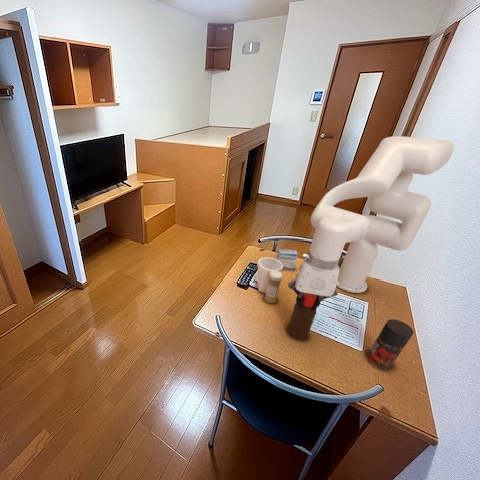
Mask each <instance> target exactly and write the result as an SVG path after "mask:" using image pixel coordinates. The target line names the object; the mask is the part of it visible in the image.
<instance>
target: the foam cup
mask: <svg viewBox="0 0 480 480" xmlns="http://www.w3.org/2000/svg"><path fill="white" fill-rule="evenodd" d="M256 266H257V282H256V283H257V290H258V291H259V292H261V293H264V294H266V289H267V285H268V281H269V274H270V272H271V271H279V272H281V273H282V272H283V270H284V269H283V264H282V263H281V262H280V261H279V260H277V259H276V257H275V258H274V257H269V256H264V257H261V258H259V259H258V261H257V265H256Z"/></svg>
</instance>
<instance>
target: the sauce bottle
mask: <svg viewBox="0 0 480 480" xmlns="http://www.w3.org/2000/svg"><path fill="white" fill-rule="evenodd" d="M316 315H317V309H316V310H313V306H312V307H307V306H304V305H303V304H302V306H301V307H298V303H296V302H295V303H294V306H293V309H292V312H291V315H290V316H291V317H290V319H289V323H288V325H287V333H288V335H289V336H290V337H291V338H293V339H294V340H297V341H306V340H307V338H308V336H309V334H310V332H311V329H312V326H313V323H314V320H315V318H316Z"/></svg>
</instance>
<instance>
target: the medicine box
mask: <svg viewBox="0 0 480 480" xmlns="http://www.w3.org/2000/svg"><path fill="white" fill-rule="evenodd" d="M298 257H299V253H298V251H297V250H296V249H288V248H286V249H285V248H278V249H277V253H276V257H275V259H277V260H279V261H280V262H281V263H282V264H283V269H282V270H295V268H296V265H297V261H298V259H299V258H298Z"/></svg>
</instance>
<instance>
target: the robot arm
mask: <svg viewBox="0 0 480 480" xmlns="http://www.w3.org/2000/svg"><path fill="white" fill-rule="evenodd" d="M453 152H454V144H453V142H452V141H450V140H444V139H435V138H424V137H423V138H422V137H415V136H401V135H400V136H399V135H397V136H396V135H395V136H392V135H391V136H387V137H385V138H383V139H381V141H380V142H379V145H378V146H377V148H376V149H375V151H374V152H373V154H372V155H371V156H370V158H369V159H368V161H367V162H366V163H365V165H364V166H363V168H362V169H361V170H360V172H359V174H358V175H357V177H355V178H353V179H349V180H348V181H345V182H342V183H340V184H339V185H337V186H335V187H333V188H331V189H330V190H329V191H327V192H326V193H325V195H323V197H322V198H321V200H320V201H319V202H318V204H317V205H316V207H315V208H314V210H313V211H312V212H311V216H310V225H311V226H312V227H313V228H314V229H315V231H314V233H313V237H312V239H311V240H312V241H311V243H310V248H309V250H307V251H308V252H302V256H301V257H302V258H304V259H303V260H302V262H301V264H300V265H299V268H298V269H297V272H296V274H295V278H293V279H292V280H290V281H289V282H288V283H287V287H288V288H289V289H291V290H293V292H294V293H295V294H296V295H297V296H296V299H295V304H296V303H298V307H301V306H302V303H303V300H304V297H303V295H304V293H309V294H314V295H316V296H317V298H316V301H315V303H314V306H313V310H316V311H317V309H318V308H319V307H320V305H321V302H324V300H325V299H329V298H330V297H337V296H338V295H339V293H338V290H337V288H339V289H341V290H342V291H345V292H348V293H353V294H362V293H364V292H366V291H367V289H368V284H367V282H366V280H367V278H368V277H370V276H371V269H372V268H373V265H374V263H375V261H376V259H377V257H378V254H379V248H378V245H379V246H382V247H385V248H387V249H391V250H395V251H399V252H401V251H405V250H407V249H408V248H409V247H410V246H411V245H412V243H413V241H414V239H415V237H416V235H417V234H418V232H419V231H420V228H421V226H422V225H423V222H424V221H425V219H426V217H427V216H428V213H429V211H430V208H431V205H432V200H431V199H430V198H429V196H427V195H425V194H421V193H416V192H412V191H408V189H409V187H410V184H411V183H412V180H413V178H414V174H417V175H422V176H427V175H431V174H433V173H435V172H437V171H439V170H440V169H442V168H444V167H445V165H446V164H447V163H448V162H449V161H450V159H451V157H452V155H453ZM361 198H370V199H369V202H368V209H369V211H370V212H372V213H375V214H378V215H381V216H384V217H388V218H392V219H396V220H399V221H401V222H399V221H395V220H392V219H388V218H384V217H381V216H377V215H373V214H365V215H362V214H361V213H356V212H353V211H350V210H346V209H343V208H340V207H335V205H337V204H338V203H341V202H343V201H347V200H351V199H352V200H353V199H361ZM346 244H349V245H348V248H347V250H346V253H345V255H344V258H343V260H342V263H341V265H340V266H339V265H338V264H339V262H340V258H341V255H342V253H343V251H344V248H345V245H346Z"/></svg>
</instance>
